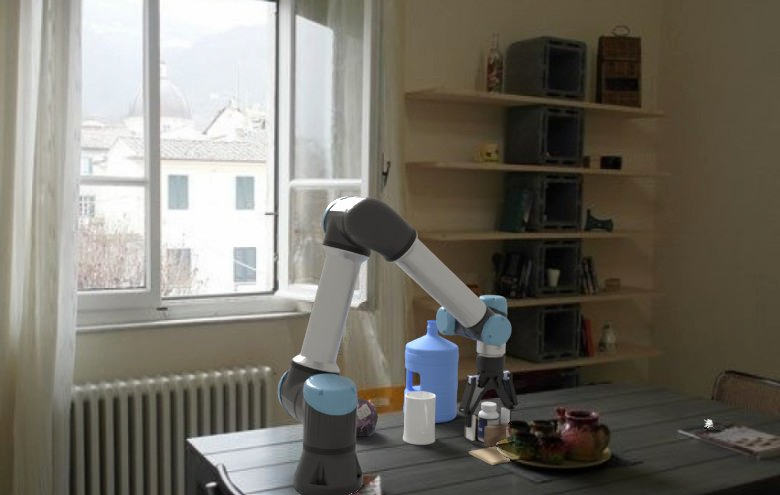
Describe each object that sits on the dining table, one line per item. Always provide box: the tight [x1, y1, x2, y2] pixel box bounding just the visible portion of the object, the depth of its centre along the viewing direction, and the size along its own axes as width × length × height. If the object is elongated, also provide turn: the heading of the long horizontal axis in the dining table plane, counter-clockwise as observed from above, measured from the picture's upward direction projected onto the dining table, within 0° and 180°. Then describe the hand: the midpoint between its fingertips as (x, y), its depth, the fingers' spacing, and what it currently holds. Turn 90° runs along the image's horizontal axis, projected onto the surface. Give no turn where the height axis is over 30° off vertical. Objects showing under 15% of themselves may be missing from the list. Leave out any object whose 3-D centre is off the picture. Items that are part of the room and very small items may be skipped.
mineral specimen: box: [356, 398, 379, 437], centre depth 204 cm, size 10×10×10 cm
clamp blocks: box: [463, 415, 508, 448], centre depth 203 cm, size 9×10×5 cm
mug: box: [402, 391, 436, 446], centre depth 199 cm, size 12×8×12 cm
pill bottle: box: [477, 401, 500, 443], centre depth 202 cm, size 5×5×10 cm
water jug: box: [402, 319, 460, 424], centre depth 222 cm, size 16×16×28 cm
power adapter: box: [703, 418, 714, 428], centre depth 218 cm, size 3×3×3 cm
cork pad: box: [468, 446, 511, 466], centre depth 190 cm, size 9×9×1 cm
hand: (487, 435), depth 203 cm, fingers open, 11 cm apart
